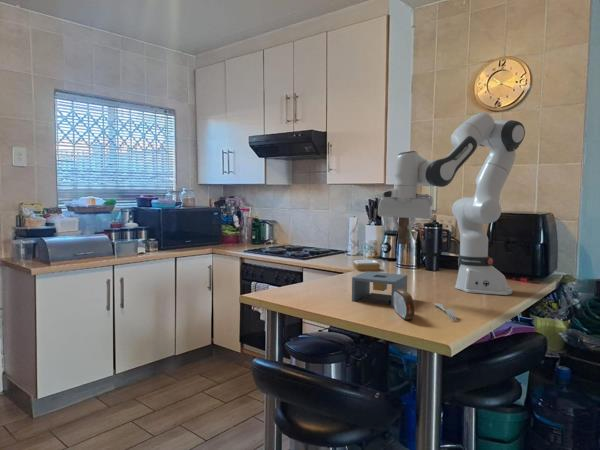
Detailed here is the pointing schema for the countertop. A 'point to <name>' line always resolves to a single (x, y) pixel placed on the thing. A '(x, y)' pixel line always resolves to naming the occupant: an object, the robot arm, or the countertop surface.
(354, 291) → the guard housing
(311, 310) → the countertop surface
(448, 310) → the fork
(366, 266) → the soap dish
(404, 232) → the brown wooden bar
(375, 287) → the button
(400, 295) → the tin
